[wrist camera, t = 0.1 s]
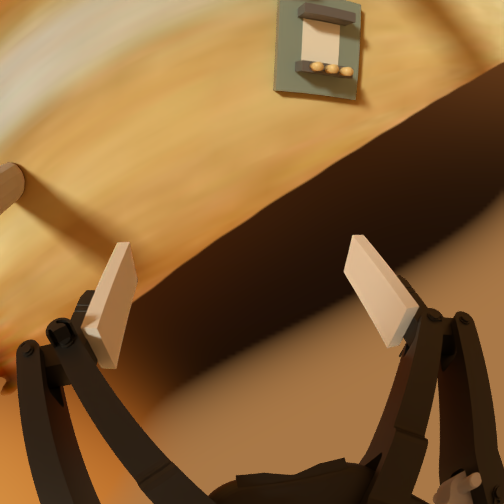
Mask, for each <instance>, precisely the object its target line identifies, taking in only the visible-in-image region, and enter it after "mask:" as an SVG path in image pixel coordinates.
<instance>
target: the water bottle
mask: <svg viewBox="0 0 504 504" xmlns="http://www.w3.org/2000/svg"><path fill="white" fill-rule="evenodd" d="M24 184H25V180H24V176H23V173H22V171H21V170H20V169H19V167H18V166H17V165H16V164H13V163H10V162H7V163H5V164H3V165H1V166H0V215H1V214H2V213H3V212H4V211H5V210H6V209H7V208H9V207H10V206H11V205H12V204H13V203H14V202H16V201H17V200H18V199H19V198H20V197H21V195H22V193H23V192H24Z"/></svg>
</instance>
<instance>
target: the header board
mask: <svg viewBox="0 0 504 504" xmlns="http://www.w3.org/2000/svg"><path fill="white" fill-rule="evenodd" d="M360 27H361V5H360V4H357V3H353V2H349V1H345V0H278V3H277V27H276V49H275V70H274V89H273V90H274V91H287V92H299V93H309V94H317V95H325V96H332V97H339V98H346V99H352V100H356V92H357V80H358V67H359V51H360Z"/></svg>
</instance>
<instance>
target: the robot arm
mask: <svg viewBox="0 0 504 504" xmlns="http://www.w3.org/2000/svg"><path fill="white" fill-rule="evenodd" d="M344 273H345V275H346V277H347V278H348V280H349V282H350V283H351V285H352V287H353V288H354V290H355V292H356V293H357V295H358V297H359V298H360V300H361V302H362V304H363V305H364V307H365V309H366V311H367V312H368V314H369V316H370V318H371V319H372V321H373V323H374V325H375V326H376V328H377V330H378V332H379V334H380V336H381V337H382V339H383V341H384V343H385V345H386V347H387V348H389V347H394V346H398V345H399V344H400V343H401V341H402V339H403V337H404V339H405V341H406V344H405V346H404V348H403V350H402V351H401V353H400V355H399V357H401V359H400V363H399V366H398V370H397V373H396V376H395V380H394V383H393V386H392V389H391V392H390V395H389V398H388V400H387V403H386V406H385V409H384V412H383V414H382V417H381V420H380V422H379V425H378V427H377V429H376V432H375V434H374V437H373V439H372V442H371V444H370V446H369V448H368V450H367V452H366V454H365V455H364V457H363V458H362V460H361V461H360V463H359V464H356V463H348V462H346V461H345V458H341V459H337V460H333V461H329V462H325V463H320V464H318V465H316V466H313V467H311V468H309V469H307V470H305V471H302V472H300V473H298V474H295V475H283V474H271V473H258V474H248V475H236V480H234V481H231V482H228V483H226V484H224V485H222V486H220V487H218V488H217V489H216V490H214V491H213V492H212V493H211V494H210V495H209V496H207V495H206V494H205V493H204V492H203V491H202V490H201V489H199V488H198V487H197V486H196V485H195V484H194V483H193V482H192V481H191V480H190V479H189V478H188V477H187V476H186V475H185V474H184V473H183V472H182V471H181V470H180V469H179V468H178V467H177V466H176V465H175V464H174V463H173V462H171V461H170V460H169V459H168V458H167V457H166V456H165V455H164V453H163V452H162V451H161V450H160V449H159V448H158V447H157V446H156V445H155V443H154V442H153V441H152V440H151V439H150V438H149V437H148V435H147V434H146V433H145V432H144V431H143V429H142V428H141V427H140V426H139V424H138V423H137V422H136V421H135V419H134V418H133V417H132V416H131V414H130V413H129V412H128V410H127V409H126V408H125V406H124V405H123V404H122V402H121V401H120V400H119V398H118V397H117V396H116V394H115V393H114V391H113V390H112V388H111V387H110V386H109V384H108V383H107V381H106V380H105V378H104V377H103V375H102V374H101V372H100V371H99V369H98V368H97V366H96V364H97V361H98V363H99V364H100V366H101V368H108V369H109V368H110V369H116V367H117V362H118V357H119V353H120V348H121V343H122V339H123V335H124V331H125V327H126V323H127V319H128V315H129V311H130V307H131V303H132V300H133V296H134V292H135V289H136V285H137V282H138V279H137V275H136V270H135V266H134V261H133V256H132V251H131V246H130V242H117V244H116V246H115V248H114V250H113V252H112V254H111V257H110V259H109V261H108V263H107V265H106V267H105V270H104V272H103V274H102V276H101V279H100V281H99V283H98V286H97V288H96V290H87V291H86V292H85V293H84V294H83V295H82V296H81V297H80V299H79V301H78V303H77V306H76V308H75V312H74V313H73V315H72V317H71V320H69V319H67V318H58V319H55V320H53V321H52V322H51V323H50V324H49V325H48V326H47V329H46V336H47V337H48V339H49V341H50V343H51V344H49V345H45V346H39V344H38V343H37V342H36V341H35V340H27V341H25V342H23V343H22V344H21V345H20V346H19V347H18V349H17V353H16V365H17V385H18V398H19V407H20V415H21V423H22V429H23V436H24V441H25V446H26V451H27V456H28V461H29V465H30V469H31V473H32V477H33V480H34V484H35V488H36V491H37V494H38V497H39V501H40V503H41V504H101V503H100V501H99V499H98V497H97V495H96V492H95V490H94V487H93V485H92V482H91V480H90V477H89V475H88V472H87V469H86V466H85V464H84V461H83V458H82V455H81V452H80V449H79V446H78V443H77V440H76V436H75V433H74V429H73V426H72V422H71V419H70V414H69V410H68V406H67V402H66V397H65V393H64V388H63V386H65V385H70V384H72V386H73V388H74V390H75V392H76V393H77V395H78V397H79V399H80V401H81V402H82V404H83V406H84V407H85V409H86V411H87V412H88V414H89V416H90V417H91V419H92V421H93V422H94V424H95V425H96V427H97V429H98V430H99V432H100V433H101V435H102V436H103V438H104V439H105V440H106V442H107V443H108V445H109V446H110V448H111V449H112V450H113V452H114V453H115V455H116V456H117V457H118V458H119V460H120V461H121V462H122V464H123V465H124V466H125V468H126V469H127V470H128V471H129V473H130V474H131V475H132V476H133V478H134V479H135V480H136V482H137V483H138V486H139V487H140V488H141V490H142V491H143V492H144V493H145V494H146V496H147V497H148V498H149V499H150V500H151V501H152V502H153V503H154V504H429V503H427V502H425V501H423V500H422V499H420V498H418V497H416V496H415V495H413V494H412V491H413V489H414V485H415V483H416V481H417V478H418V475H419V472H420V469H421V466H422V463H423V460H424V456H425V453H426V449H427V446H428V439H426V438H425V432H426V428H427V424H428V420H429V416H430V411H431V407H432V402H433V398H434V393H435V388H436V382H437V378H438V390H439V408H440V456H439V457H440V458H439V479H440V486H439V488H438V490H437V493H436V494H435V495H434V497H433V502H434V503H435V504H504V468H503V464H502V461H501V458H500V455H499V452H498V449H497V448H498V446H497V434H496V424H495V416H494V408H493V401H492V395H491V390H490V384H489V379H488V374H487V369H486V365H485V360H484V356H483V352H482V348H481V345H480V341H479V337H478V333H477V330H476V327H475V323H474V321H473V319H472V317H471V316H470V315H469V314H467V313H465V312H461V311H460V312H457V313H456V314H455V316H454V318H444V317H443V316H442V314H441V313H440V312H439V311H437V310H435V309H432V308H427V307H426V305H425V304H424V302H423V301H422V300H421V298H420V297H419V296H418V294H417V293H415V291H414V289H413V288H412V287H411V285H410V284H409V283H408V281H407V280H405V279H404V278H403V277H401V276H400V275H398V276H396V275H395V274H394V272H393V271H392V270H391V268H390V267H389V266H388V265H387V263H386V262H385V261H384V260H383V259H382V257H381V256H380V255H379V253H378V252H377V251H376V250H375V249H374V247H373V246H372V245H371V244H370V243H369V242H368V240H367V239H366V238H365V237H364V235H353V236H352V240H351V245H350V248H349V253H348V257H347V261H346V265H345V269H344ZM401 355H402V356H401Z"/></svg>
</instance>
